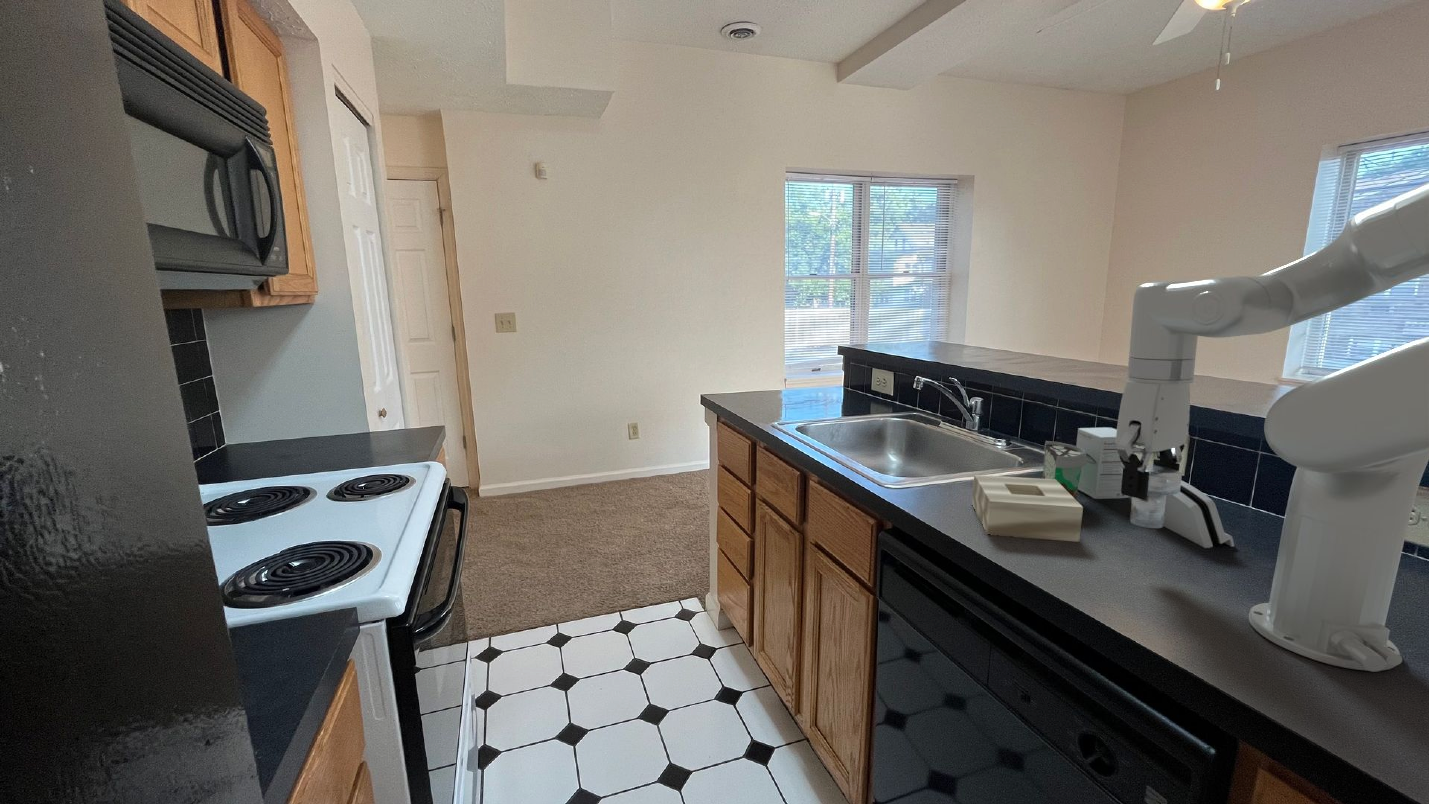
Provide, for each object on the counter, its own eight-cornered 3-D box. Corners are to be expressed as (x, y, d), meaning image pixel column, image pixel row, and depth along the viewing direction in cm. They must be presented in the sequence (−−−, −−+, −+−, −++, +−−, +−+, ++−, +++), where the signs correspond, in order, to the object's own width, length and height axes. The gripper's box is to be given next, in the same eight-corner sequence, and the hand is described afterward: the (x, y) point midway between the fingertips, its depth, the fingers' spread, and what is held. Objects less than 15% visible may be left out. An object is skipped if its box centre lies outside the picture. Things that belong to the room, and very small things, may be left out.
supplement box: (1069, 486, 124) (1076, 427, 121) (1104, 485, 124) (1112, 426, 122) (1093, 499, 117) (1100, 436, 114) (1130, 498, 117) (1138, 435, 114)
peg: (1186, 533, 84) (1192, 478, 83) (1130, 530, 85) (1134, 476, 84) (1162, 515, 91) (1166, 464, 89) (1110, 513, 92) (1113, 463, 91)
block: (1079, 541, 98) (1083, 507, 97) (987, 534, 101) (990, 501, 100) (1052, 510, 112) (1055, 479, 110) (972, 504, 115) (974, 474, 114)
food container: (1089, 511, 111) (1095, 459, 109) (1052, 508, 113) (1057, 457, 111) (1074, 489, 122) (1079, 442, 120) (1040, 486, 124) (1045, 440, 122)
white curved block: (1236, 547, 96) (1225, 491, 94) (1207, 557, 96) (1195, 502, 94) (1157, 508, 112) (1146, 460, 110) (1133, 516, 112) (1121, 469, 110)
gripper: (1164, 364, 92) (1154, 476, 94) (1095, 373, 84) (1086, 495, 87) (1223, 368, 85) (1210, 489, 88) (1154, 378, 77) (1142, 510, 80)
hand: (1149, 491), depth 87 cm, fingers closed on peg, 7 cm apart
